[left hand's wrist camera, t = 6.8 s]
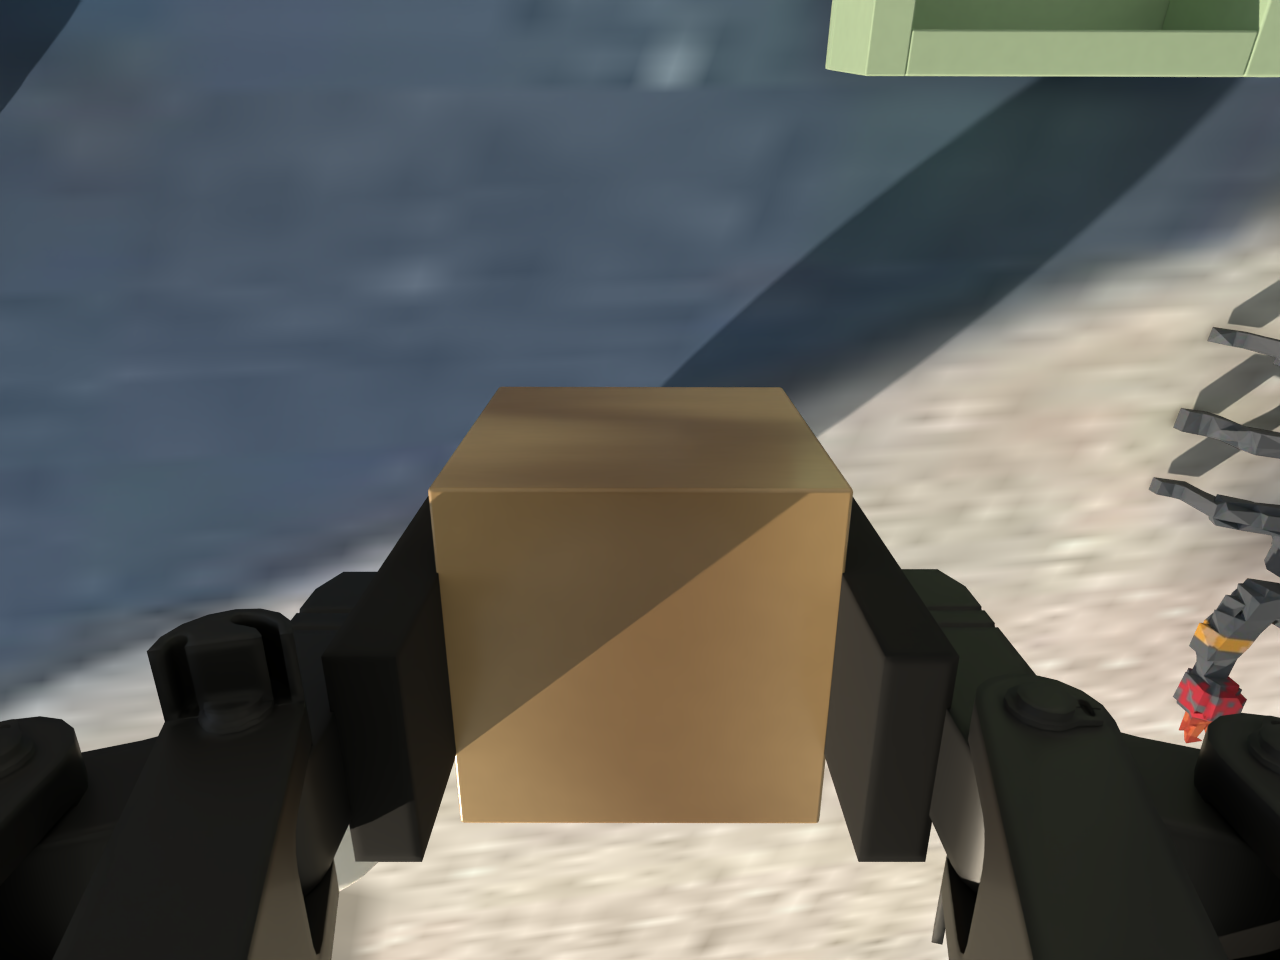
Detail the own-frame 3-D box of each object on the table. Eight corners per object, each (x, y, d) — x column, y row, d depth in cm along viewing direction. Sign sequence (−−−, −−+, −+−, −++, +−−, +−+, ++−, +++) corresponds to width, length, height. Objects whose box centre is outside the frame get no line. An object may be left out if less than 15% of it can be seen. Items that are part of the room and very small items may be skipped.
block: (513, 632, 16) (460, 824, 11) (498, 386, 14) (425, 488, 9) (766, 633, 16) (819, 824, 11) (782, 386, 14) (854, 489, 9)
